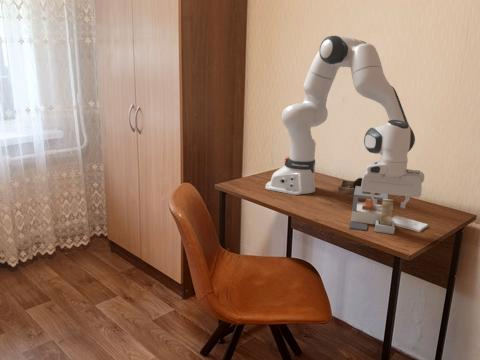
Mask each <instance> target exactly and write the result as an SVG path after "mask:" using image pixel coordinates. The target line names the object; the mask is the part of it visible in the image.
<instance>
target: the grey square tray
mask: <svg viewBox="0 0 480 360" xmlns="http://www.w3.org/2000/svg"><path fill="white" fill-rule="evenodd" d="M395 226H396V225H395V221H391V224H390V226H387V225H380V219H376V222H375V224H374V232H375V233H377V232H378V233H383V234H390V235H391V234H392V235H394V234H395V230H396V227H395Z"/></svg>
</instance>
